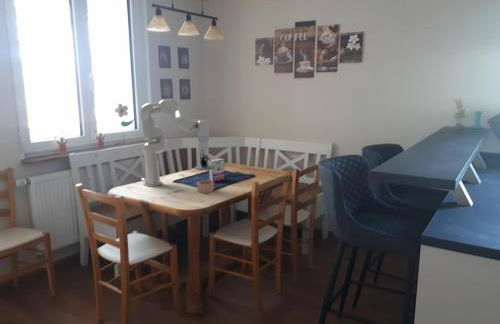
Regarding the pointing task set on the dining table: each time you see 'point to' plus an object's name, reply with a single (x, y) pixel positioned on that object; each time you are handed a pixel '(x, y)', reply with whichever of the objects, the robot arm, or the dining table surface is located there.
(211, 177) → the candy bar box
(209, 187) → the bowl
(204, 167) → the lid
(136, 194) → the dining table surface
